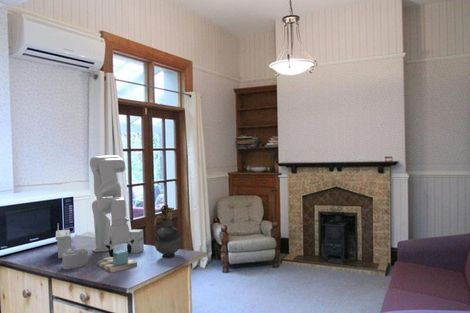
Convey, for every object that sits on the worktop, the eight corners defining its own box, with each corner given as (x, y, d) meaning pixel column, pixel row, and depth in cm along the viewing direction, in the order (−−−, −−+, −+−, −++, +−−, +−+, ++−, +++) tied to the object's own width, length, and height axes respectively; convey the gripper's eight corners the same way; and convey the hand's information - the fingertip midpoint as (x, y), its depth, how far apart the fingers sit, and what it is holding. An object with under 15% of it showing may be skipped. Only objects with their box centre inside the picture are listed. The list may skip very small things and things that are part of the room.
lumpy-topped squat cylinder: (91, 262, 203) (90, 247, 203) (71, 270, 191) (70, 253, 191) (77, 260, 207) (77, 245, 207) (57, 268, 196) (56, 251, 196)
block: (113, 263, 192) (112, 252, 192) (124, 260, 196) (123, 249, 196) (117, 265, 189) (116, 253, 189) (128, 262, 193) (127, 251, 193)
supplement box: (138, 253, 219) (137, 232, 219) (127, 252, 220) (126, 231, 220) (144, 249, 226) (143, 229, 226) (133, 249, 227) (132, 229, 227)
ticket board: (97, 264, 198) (97, 259, 198) (122, 259, 207) (122, 253, 207) (111, 272, 185) (111, 266, 185) (137, 265, 194) (136, 260, 194)
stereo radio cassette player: (72, 257, 214) (70, 223, 214) (56, 259, 211) (54, 225, 211) (71, 249, 233) (69, 218, 233) (56, 251, 230) (55, 219, 229)
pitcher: (184, 253, 214) (182, 202, 213) (163, 263, 197) (161, 207, 196) (169, 251, 219) (167, 201, 218) (148, 261, 202) (145, 206, 201)
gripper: (131, 219, 201) (132, 250, 201) (99, 224, 189) (101, 257, 189) (137, 220, 195) (139, 252, 195) (105, 225, 184) (107, 259, 184)
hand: (120, 254), depth 192 cm, fingers open, 9 cm apart
